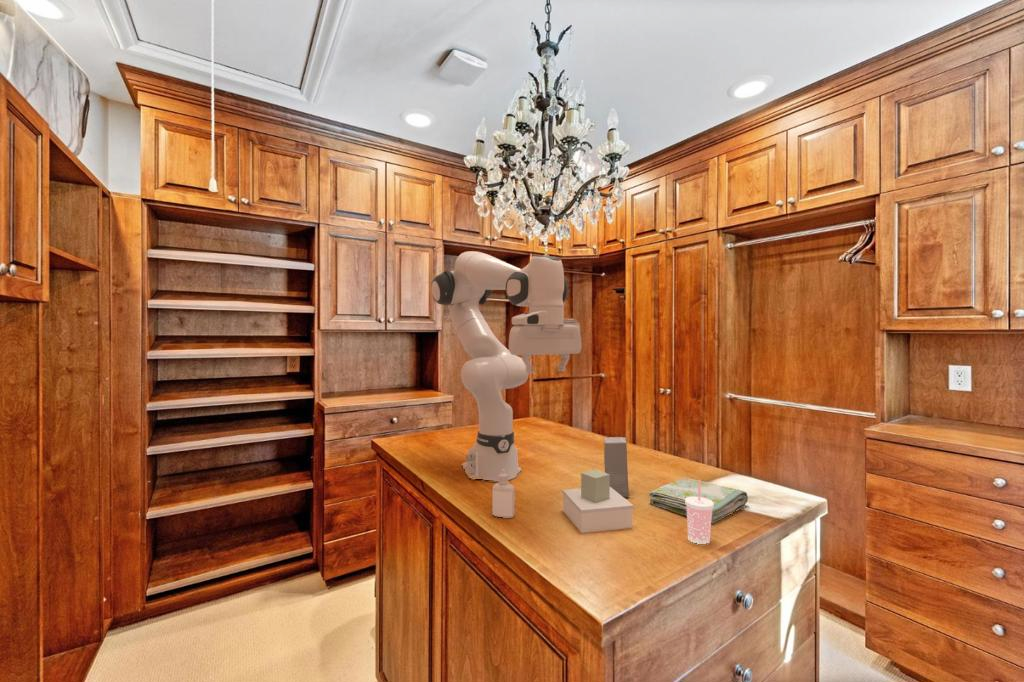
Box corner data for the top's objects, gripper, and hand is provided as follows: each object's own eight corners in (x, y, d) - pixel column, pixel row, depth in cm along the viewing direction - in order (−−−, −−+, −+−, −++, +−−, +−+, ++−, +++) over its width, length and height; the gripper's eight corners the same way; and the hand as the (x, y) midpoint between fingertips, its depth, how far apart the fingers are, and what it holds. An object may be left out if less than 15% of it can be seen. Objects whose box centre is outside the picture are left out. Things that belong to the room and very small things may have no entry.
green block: (581, 496, 114) (581, 473, 114) (594, 492, 117) (594, 469, 117) (595, 502, 110) (595, 478, 110) (609, 498, 113) (609, 474, 113)
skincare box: (629, 498, 127) (629, 443, 127) (603, 496, 129) (604, 441, 128) (627, 488, 136) (628, 436, 135) (603, 486, 137) (603, 435, 137)
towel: (645, 505, 124) (645, 486, 124) (688, 488, 137) (688, 472, 136) (708, 528, 109) (709, 508, 109) (749, 507, 122) (749, 489, 122)
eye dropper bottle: (506, 521, 112) (506, 473, 111) (489, 515, 115) (489, 469, 115) (517, 516, 115) (517, 469, 115) (500, 510, 119) (500, 465, 118)
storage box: (562, 512, 119) (562, 489, 118) (609, 508, 121) (609, 486, 121) (581, 535, 105) (581, 510, 105) (633, 529, 108) (633, 505, 108)
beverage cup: (678, 535, 105) (679, 476, 104) (701, 532, 106) (702, 474, 106) (695, 548, 99) (696, 485, 98) (719, 545, 100) (720, 483, 100)
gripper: (572, 319, 122) (572, 369, 123) (505, 317, 113) (505, 372, 113) (586, 318, 117) (586, 371, 117) (517, 317, 107) (517, 375, 108)
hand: (546, 372), depth 115 cm, fingers open, 8 cm apart
